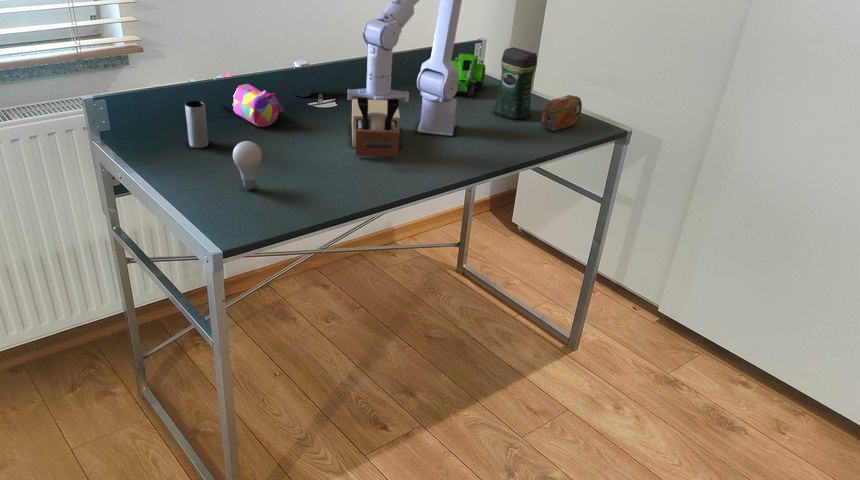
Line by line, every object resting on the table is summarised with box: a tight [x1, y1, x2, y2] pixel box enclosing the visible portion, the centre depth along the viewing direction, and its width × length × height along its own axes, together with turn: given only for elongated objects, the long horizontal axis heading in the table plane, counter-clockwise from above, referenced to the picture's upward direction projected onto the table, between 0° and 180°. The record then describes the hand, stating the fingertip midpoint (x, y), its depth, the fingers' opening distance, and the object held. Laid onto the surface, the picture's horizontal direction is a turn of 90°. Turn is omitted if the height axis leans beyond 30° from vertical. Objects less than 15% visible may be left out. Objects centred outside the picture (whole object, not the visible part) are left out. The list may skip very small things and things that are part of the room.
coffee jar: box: [494, 46, 538, 120], centre depth 206 cm, size 10×8×19 cm
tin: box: [540, 94, 583, 132], centre depth 203 cm, size 15×3×8 cm, turn 131°
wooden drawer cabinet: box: [351, 99, 401, 148], centre depth 188 cm, size 14×12×8 cm
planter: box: [184, 100, 209, 149], centre depth 175 cm, size 4×4×10 cm
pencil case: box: [215, 73, 285, 128], centre depth 193 cm, size 22×9×9 cm, turn 47°
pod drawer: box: [354, 119, 400, 158], centre depth 179 cm, size 17×10×6 cm, turn 6°
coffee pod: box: [368, 112, 387, 130], centre depth 178 cm, size 5×5×5 cm
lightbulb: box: [232, 140, 263, 191], centre depth 157 cm, size 6×6×11 cm
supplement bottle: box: [293, 59, 310, 68], centre depth 209 cm, size 5×5×10 cm
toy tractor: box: [451, 53, 486, 98], centre depth 223 cm, size 11×16×10 cm
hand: (376, 128), depth 178 cm, fingers closed on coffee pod, 4 cm apart
